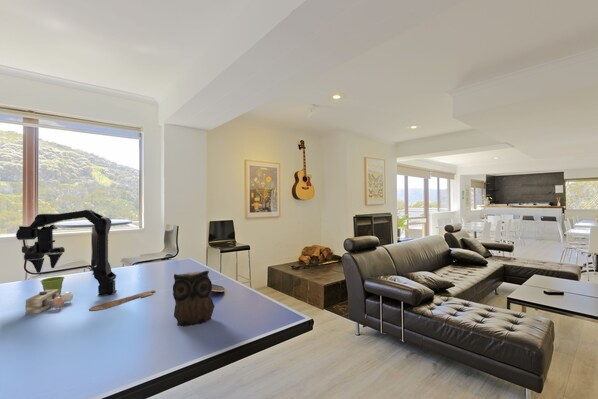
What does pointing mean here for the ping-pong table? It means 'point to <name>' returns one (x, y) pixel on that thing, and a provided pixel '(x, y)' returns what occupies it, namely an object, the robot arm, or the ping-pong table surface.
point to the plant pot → (52, 283)
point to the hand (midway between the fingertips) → (45, 270)
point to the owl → (192, 298)
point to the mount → (39, 301)
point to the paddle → (120, 301)
